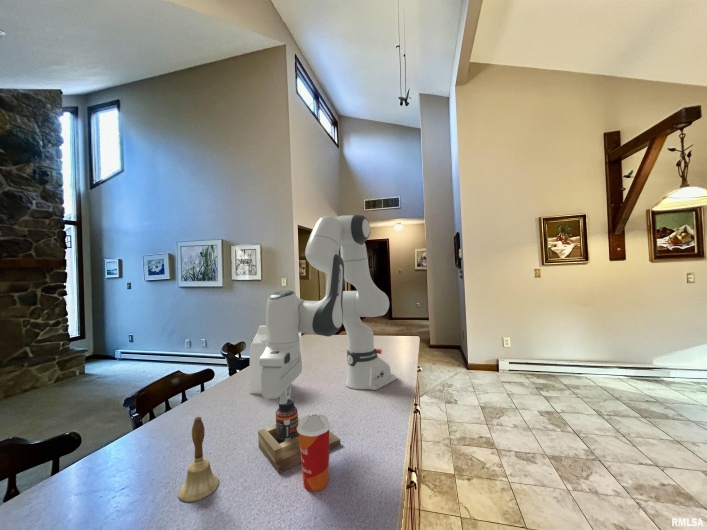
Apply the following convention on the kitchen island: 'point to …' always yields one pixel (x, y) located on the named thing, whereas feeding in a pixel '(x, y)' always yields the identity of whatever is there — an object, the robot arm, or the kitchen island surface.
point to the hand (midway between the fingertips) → (285, 401)
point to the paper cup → (314, 451)
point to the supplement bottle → (286, 421)
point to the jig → (285, 448)
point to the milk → (257, 359)
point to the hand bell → (198, 470)
